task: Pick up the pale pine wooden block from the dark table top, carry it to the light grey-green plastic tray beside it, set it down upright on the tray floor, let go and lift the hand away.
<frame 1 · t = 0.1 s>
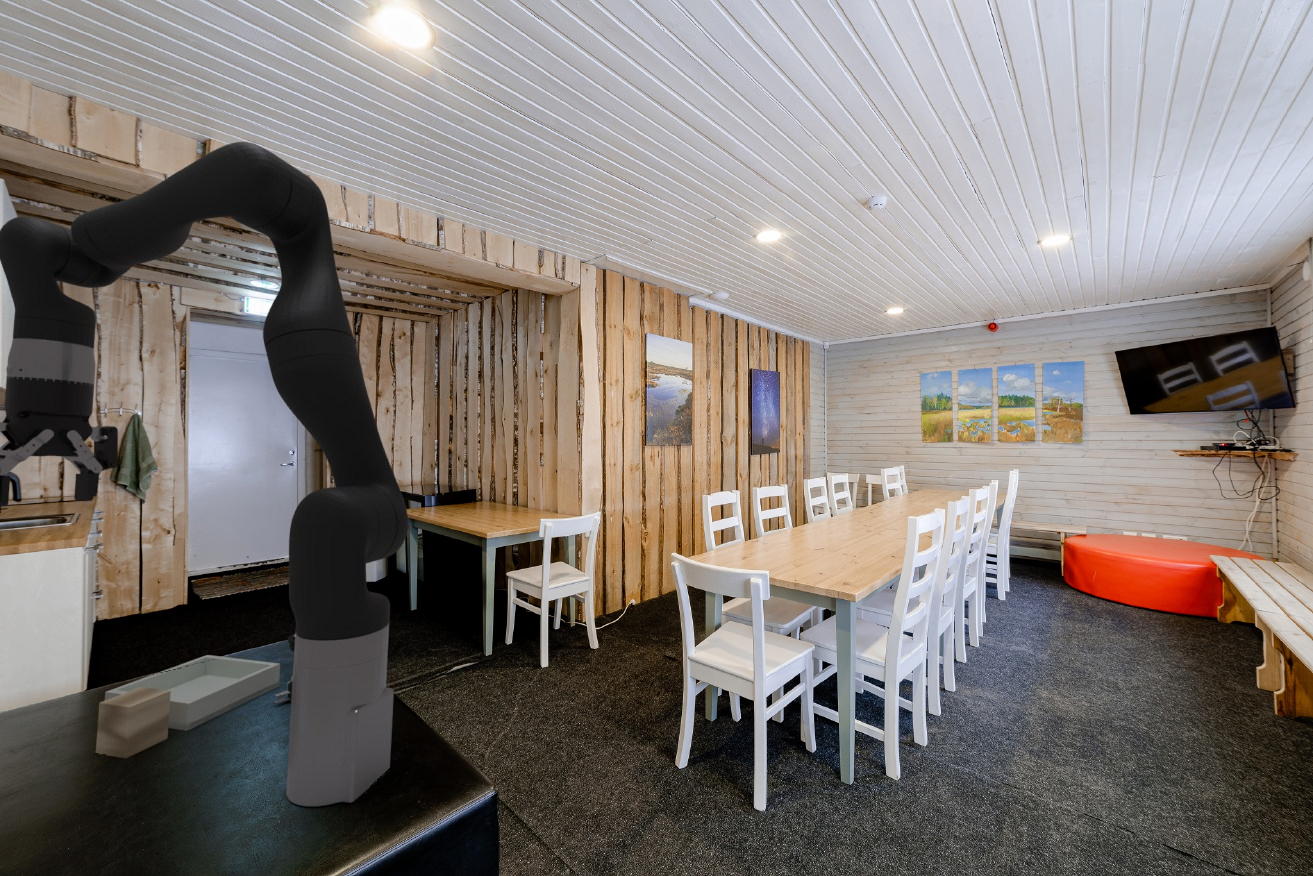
hand: (43, 503, 68), 29 cm above the table, tool pointing down, fingers open, 8 cm apart
push button: (300, 699, 79), on the table
pine block: (132, 746, 65), on the table
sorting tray: (197, 701, 76), on the table
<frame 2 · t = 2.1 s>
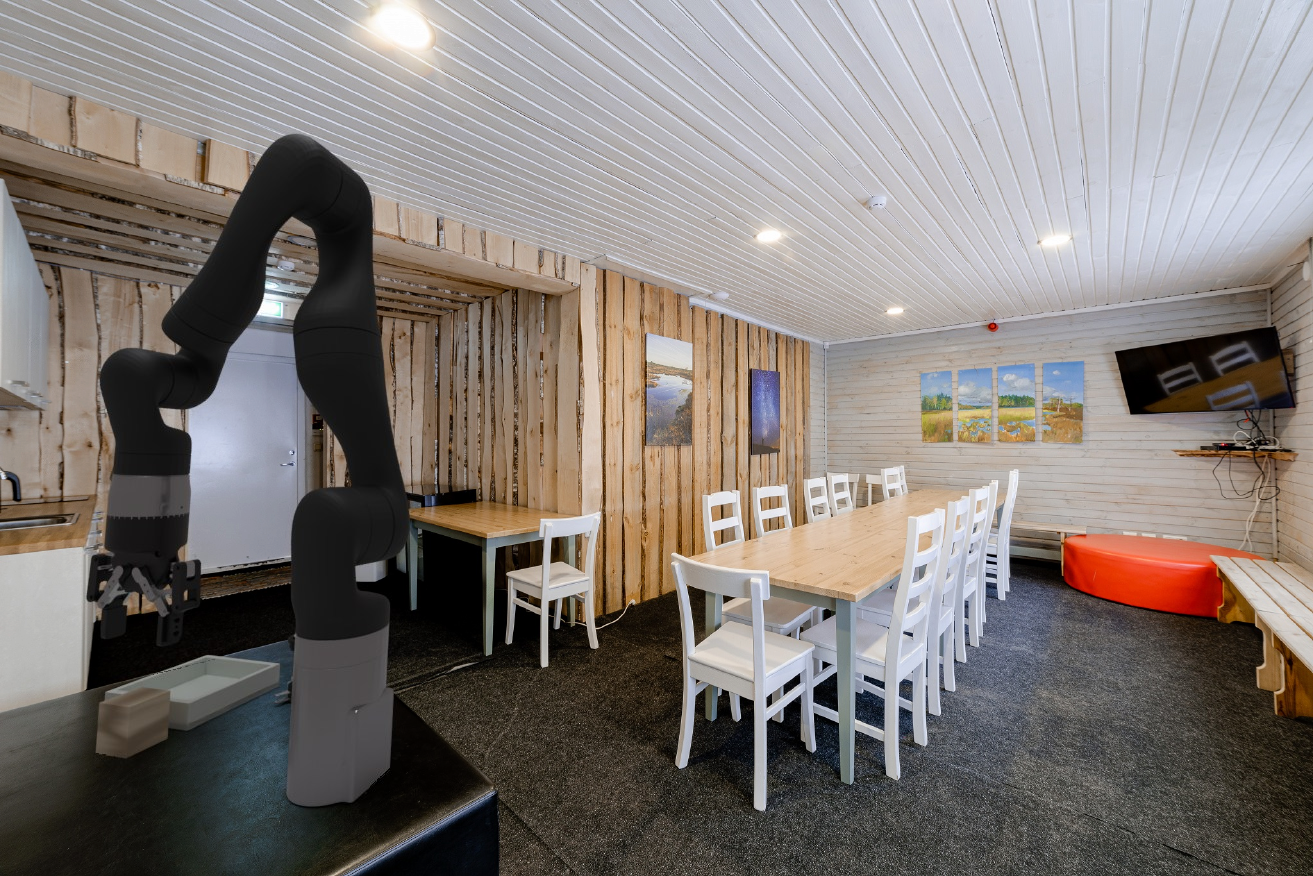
hand: (140, 640, 66), 13 cm above the table, tool pointing down, fingers open, 8 cm apart
nothing on the table moved.
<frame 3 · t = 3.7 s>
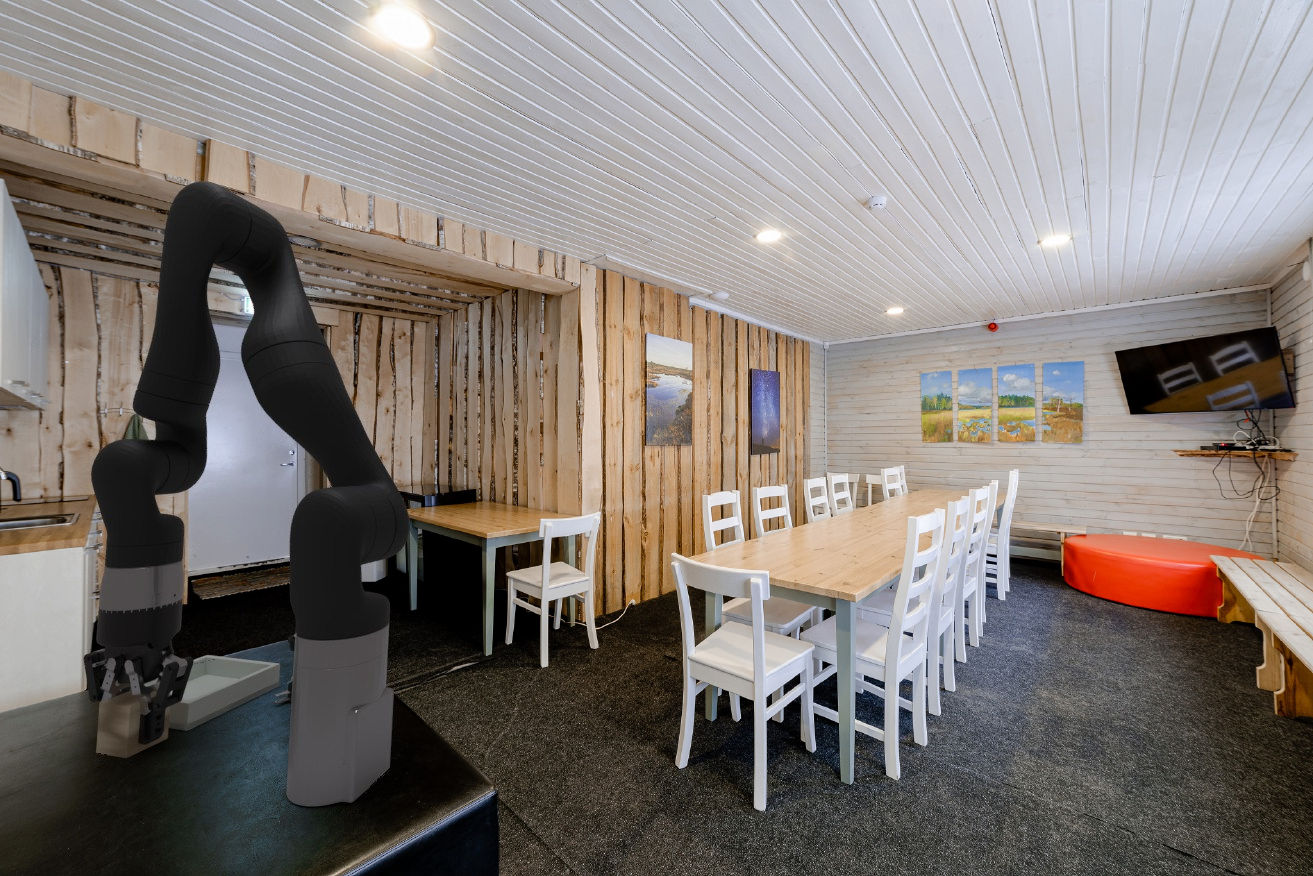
hand: (133, 738, 65), 1 cm above the table, tool pointing down, fingers closed on pine block, 4 cm apart
pine block: (132, 745, 65), on the table, touching gripper
everything else where it was.
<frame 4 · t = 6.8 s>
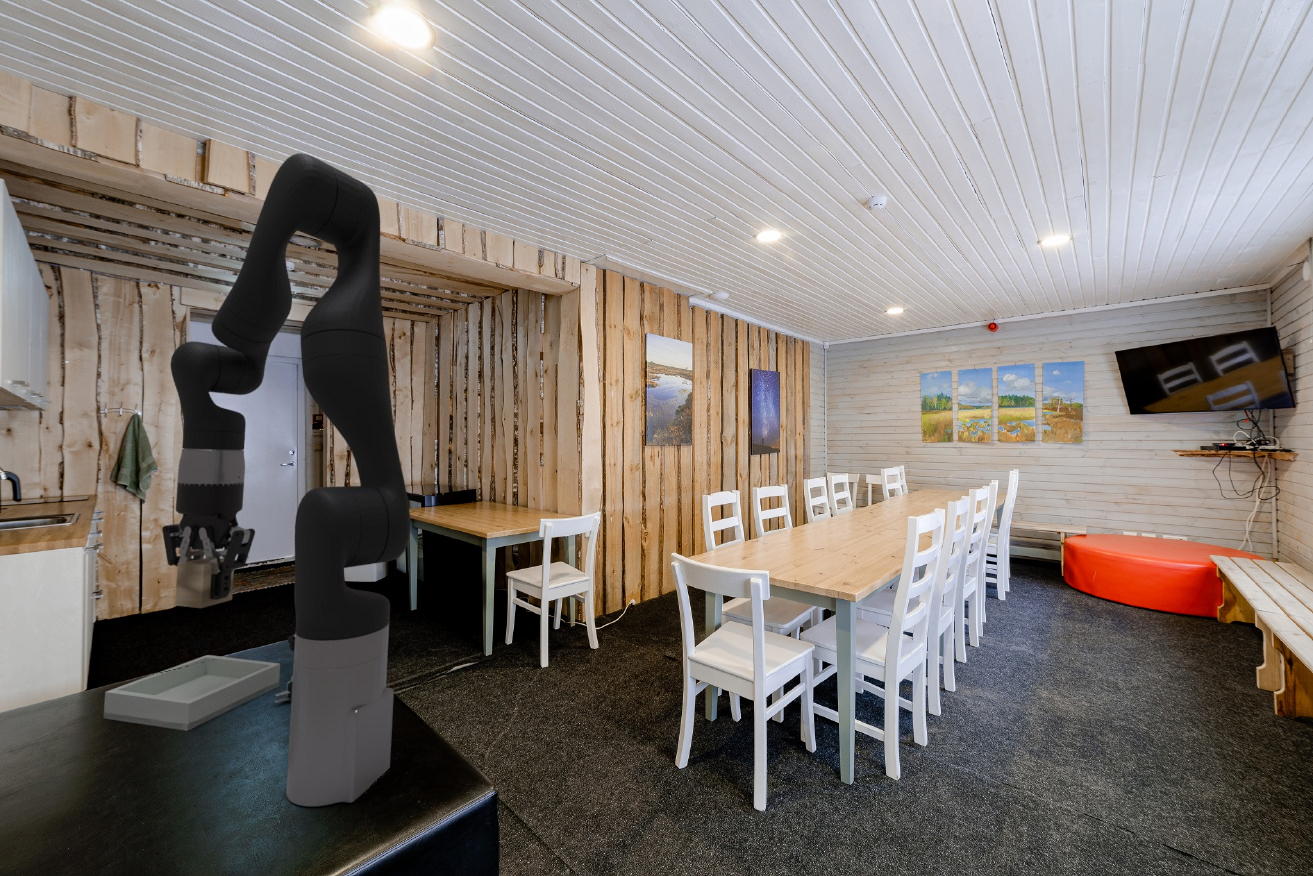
hand: (204, 596, 77), 15 cm above the table, tool pointing down, fingers closed on pine block, 4 cm apart
pine block: (204, 602, 77), point 14 cm above the table, touching gripper
everything else where it was.
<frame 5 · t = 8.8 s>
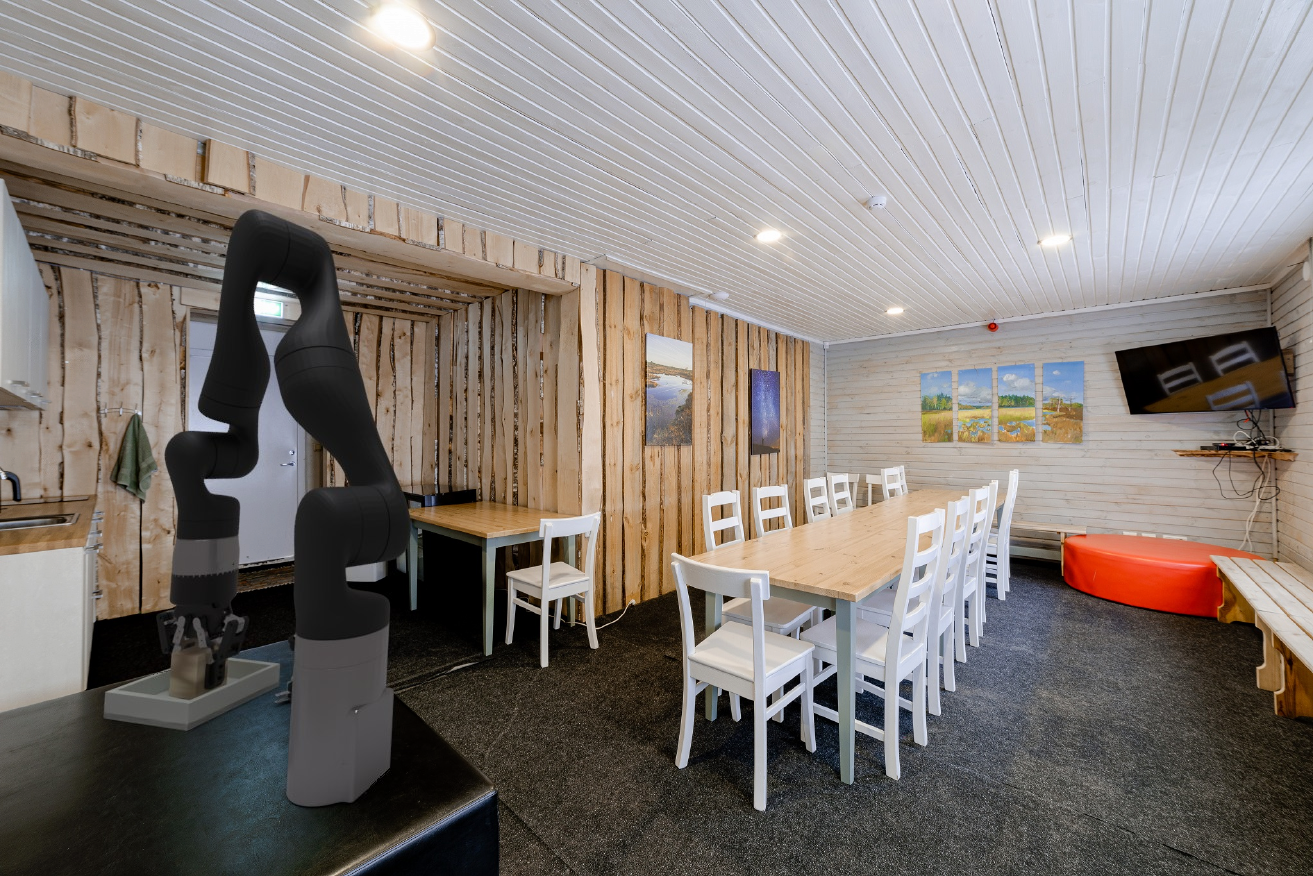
hand: (198, 684, 77), 2 cm above the table, tool pointing down, fingers closed on pine block, 4 cm apart
pine block: (198, 691, 77), point 1 cm above the table, touching gripper
everything else where it was.
when the fingers open (2 cm above the table, at t = 10.0 s): pine block stays where it is, resting on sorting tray.
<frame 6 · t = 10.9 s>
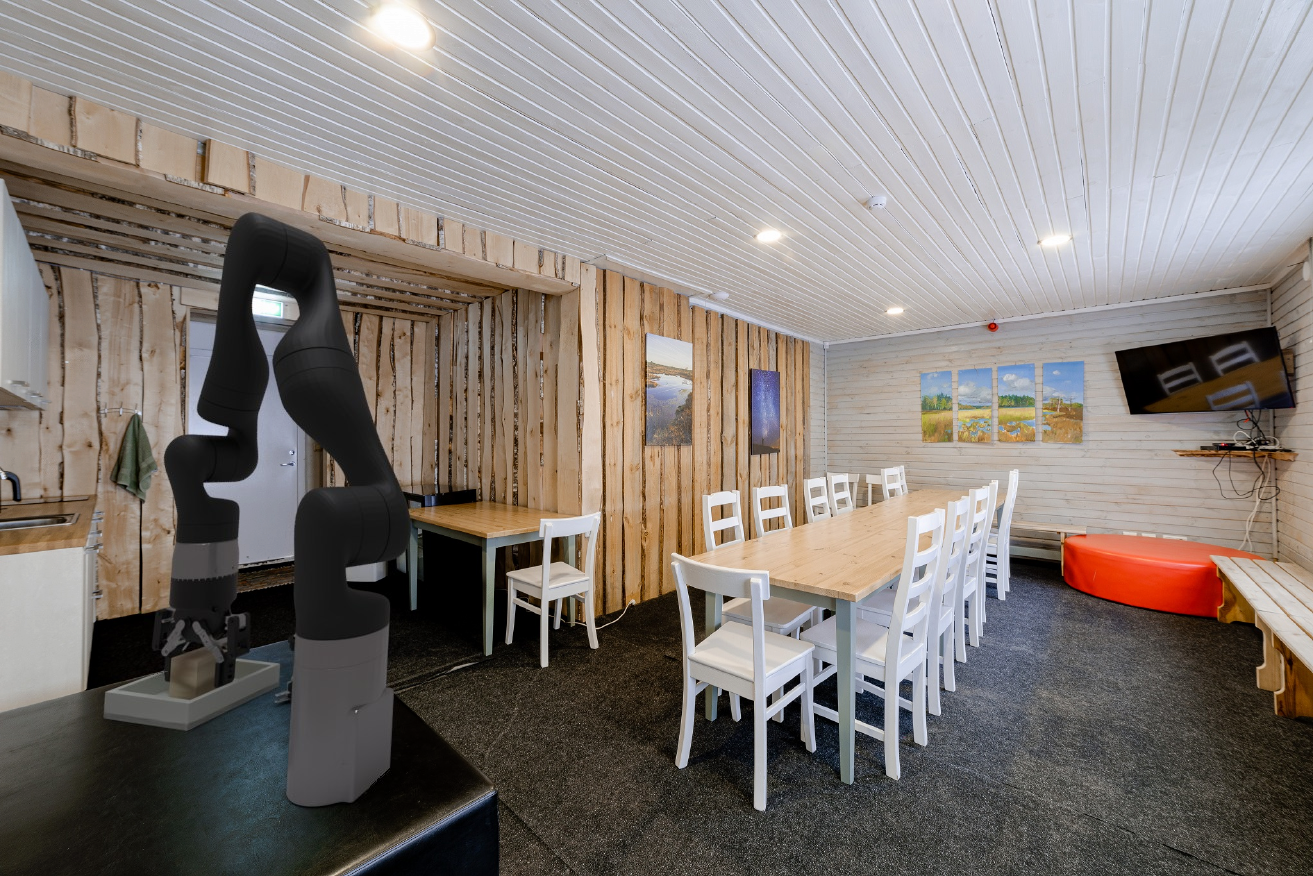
hand: (198, 683, 76), 3 cm above the table, tool pointing down, fingers open, 8 cm apart
pine block: (198, 695, 76), point 1 cm above the table, touching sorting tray
everything else where it was.
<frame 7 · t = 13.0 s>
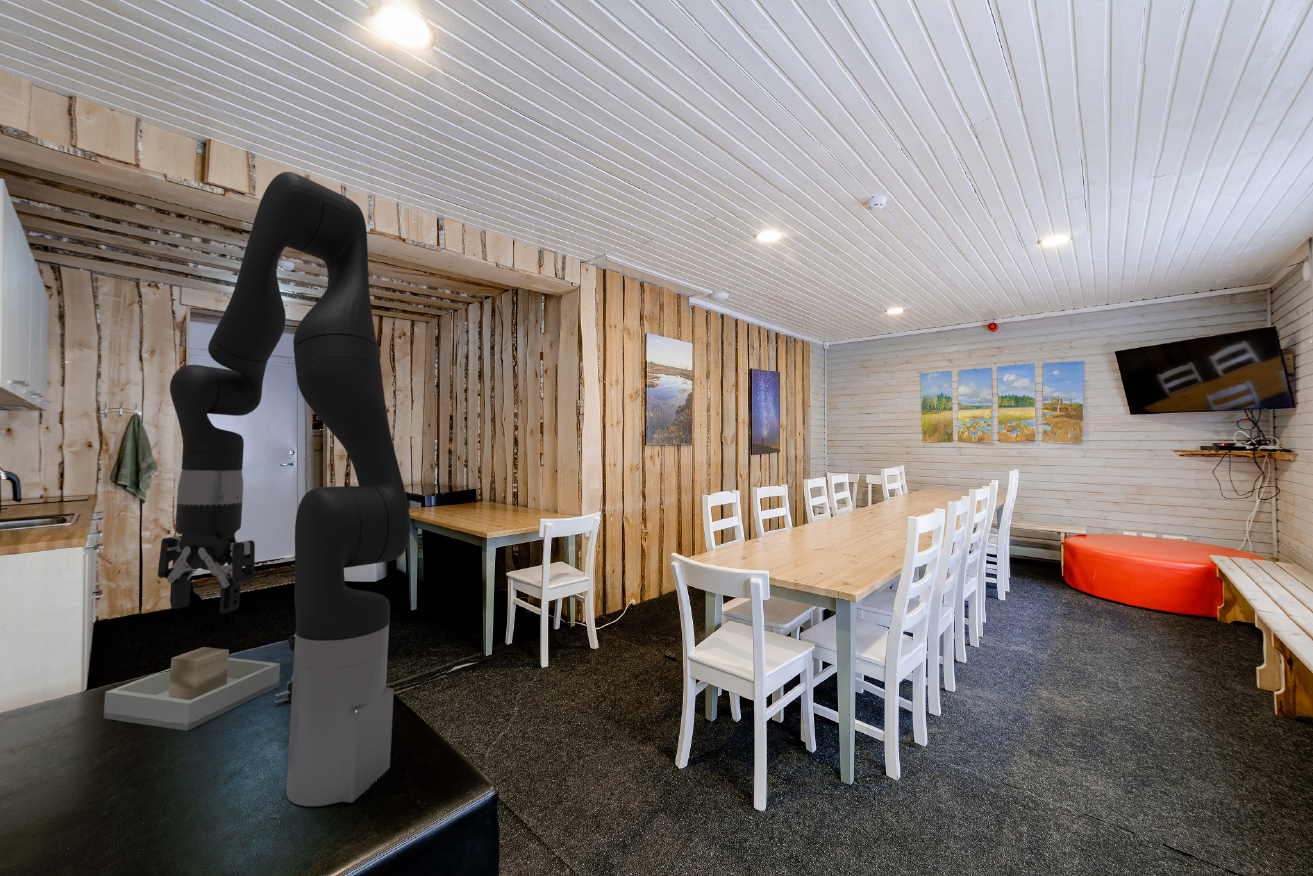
hand: (203, 609, 78), 13 cm above the table, tool pointing down, fingers open, 8 cm apart
nothing on the table moved.
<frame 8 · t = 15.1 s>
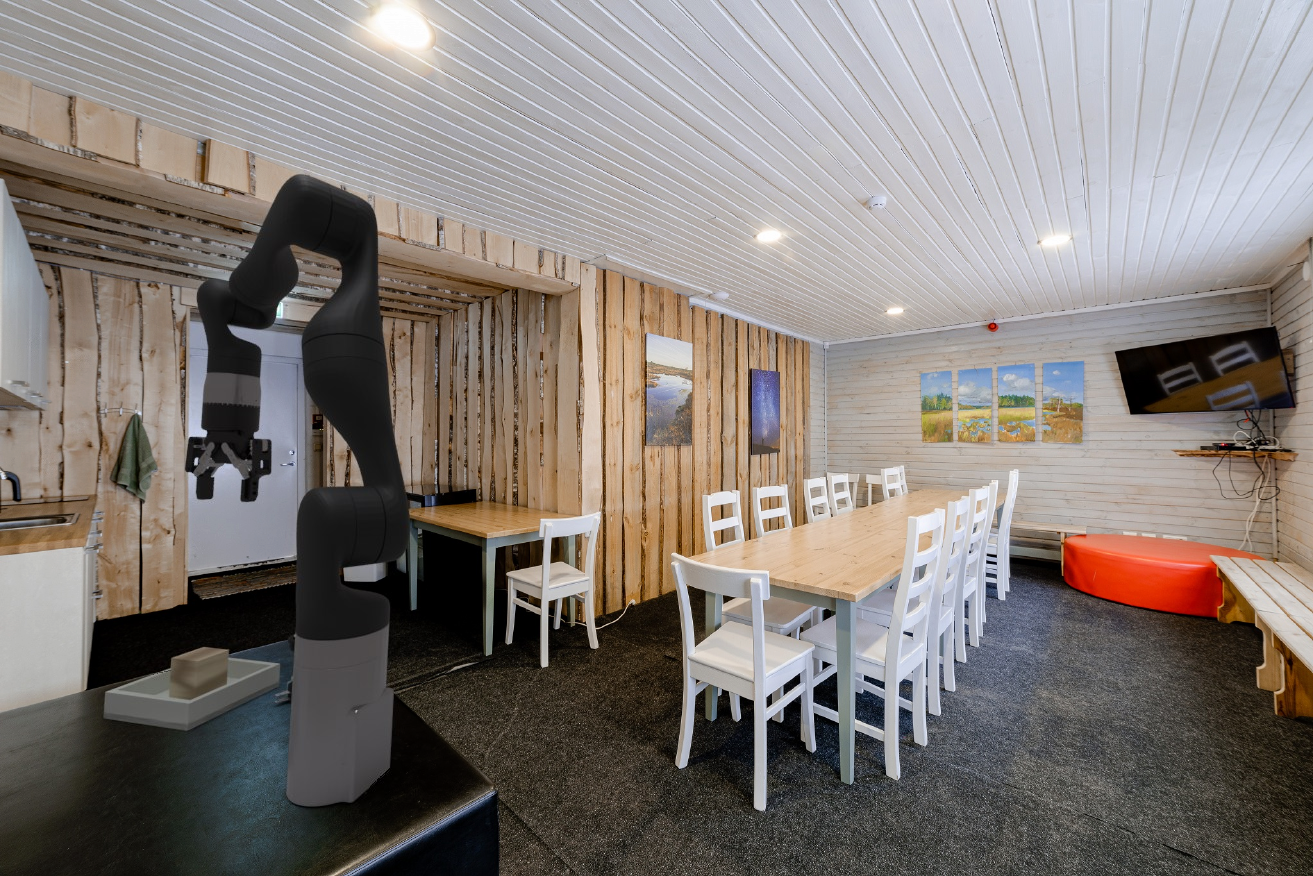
hand: (226, 500, 87), 28 cm above the table, tool pointing down, fingers open, 8 cm apart
nothing on the table moved.
at the end: pine block inside the target area on the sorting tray (0.1 cm from its centre), point 0.8 cm above the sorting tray's base; pine block tilted 0°; the gripper is holding nothing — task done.
